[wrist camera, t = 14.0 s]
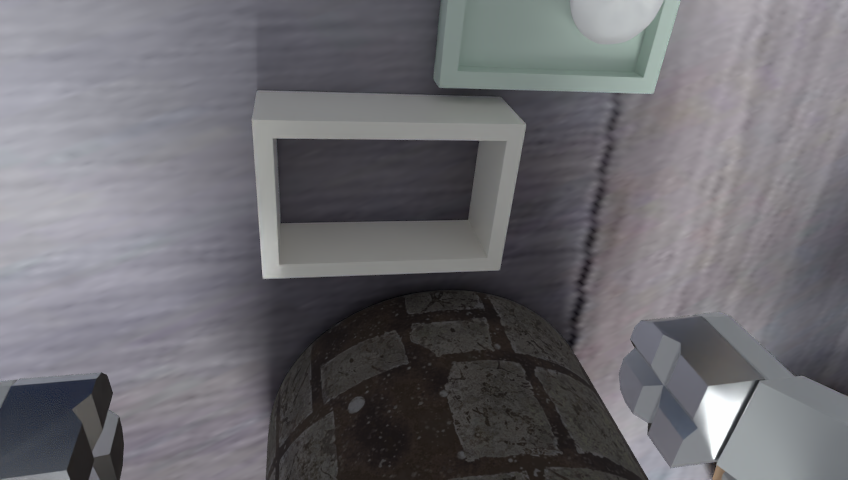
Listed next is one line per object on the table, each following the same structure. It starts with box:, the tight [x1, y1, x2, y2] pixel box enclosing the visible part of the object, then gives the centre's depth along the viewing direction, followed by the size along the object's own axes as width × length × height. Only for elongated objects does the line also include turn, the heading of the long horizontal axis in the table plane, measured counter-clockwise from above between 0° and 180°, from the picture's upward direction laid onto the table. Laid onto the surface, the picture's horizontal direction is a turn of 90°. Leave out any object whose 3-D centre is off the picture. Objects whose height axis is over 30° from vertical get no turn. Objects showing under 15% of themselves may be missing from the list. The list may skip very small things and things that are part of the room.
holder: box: [252, 90, 526, 279], centre depth 36 cm, size 15×10×5 cm, turn 85°
